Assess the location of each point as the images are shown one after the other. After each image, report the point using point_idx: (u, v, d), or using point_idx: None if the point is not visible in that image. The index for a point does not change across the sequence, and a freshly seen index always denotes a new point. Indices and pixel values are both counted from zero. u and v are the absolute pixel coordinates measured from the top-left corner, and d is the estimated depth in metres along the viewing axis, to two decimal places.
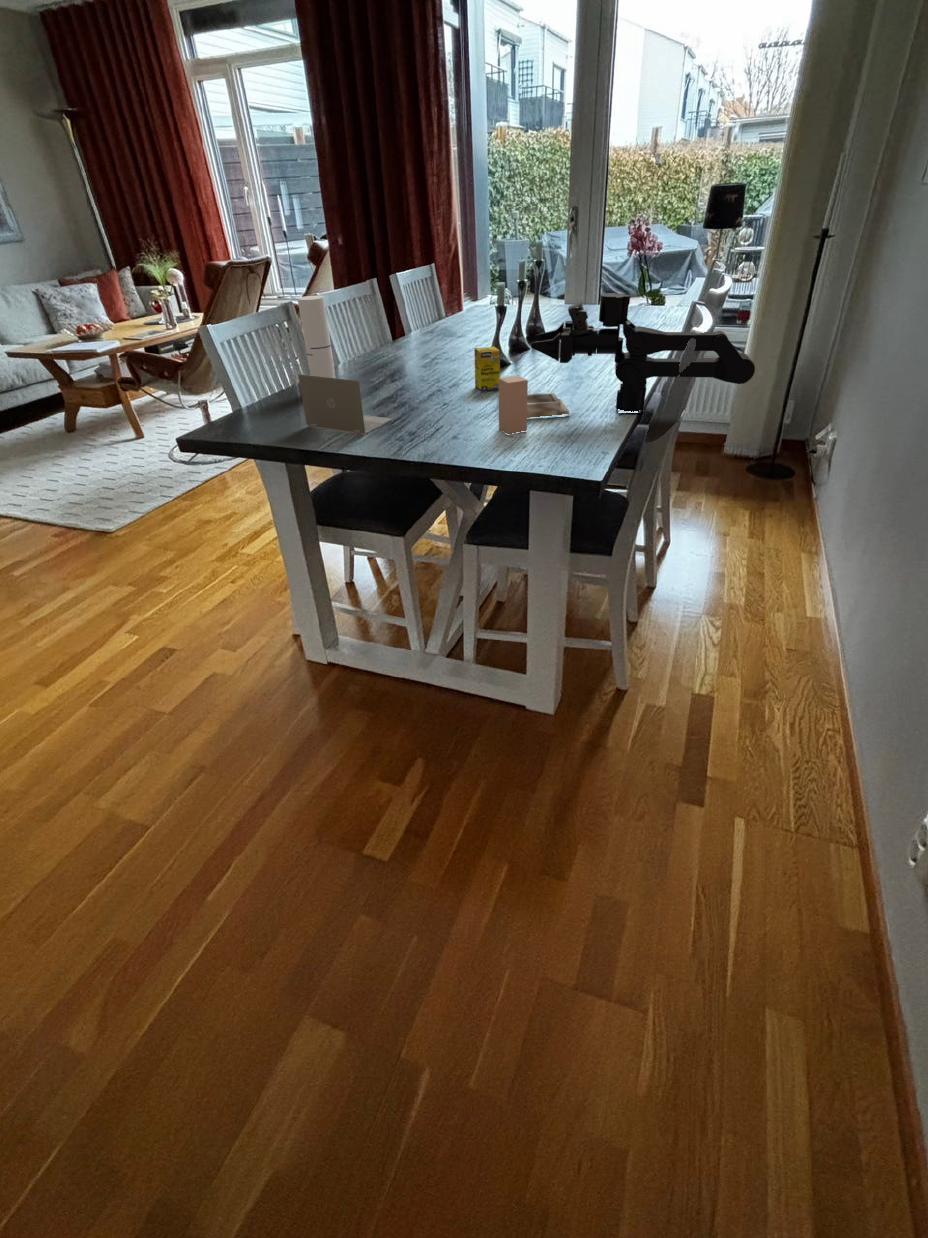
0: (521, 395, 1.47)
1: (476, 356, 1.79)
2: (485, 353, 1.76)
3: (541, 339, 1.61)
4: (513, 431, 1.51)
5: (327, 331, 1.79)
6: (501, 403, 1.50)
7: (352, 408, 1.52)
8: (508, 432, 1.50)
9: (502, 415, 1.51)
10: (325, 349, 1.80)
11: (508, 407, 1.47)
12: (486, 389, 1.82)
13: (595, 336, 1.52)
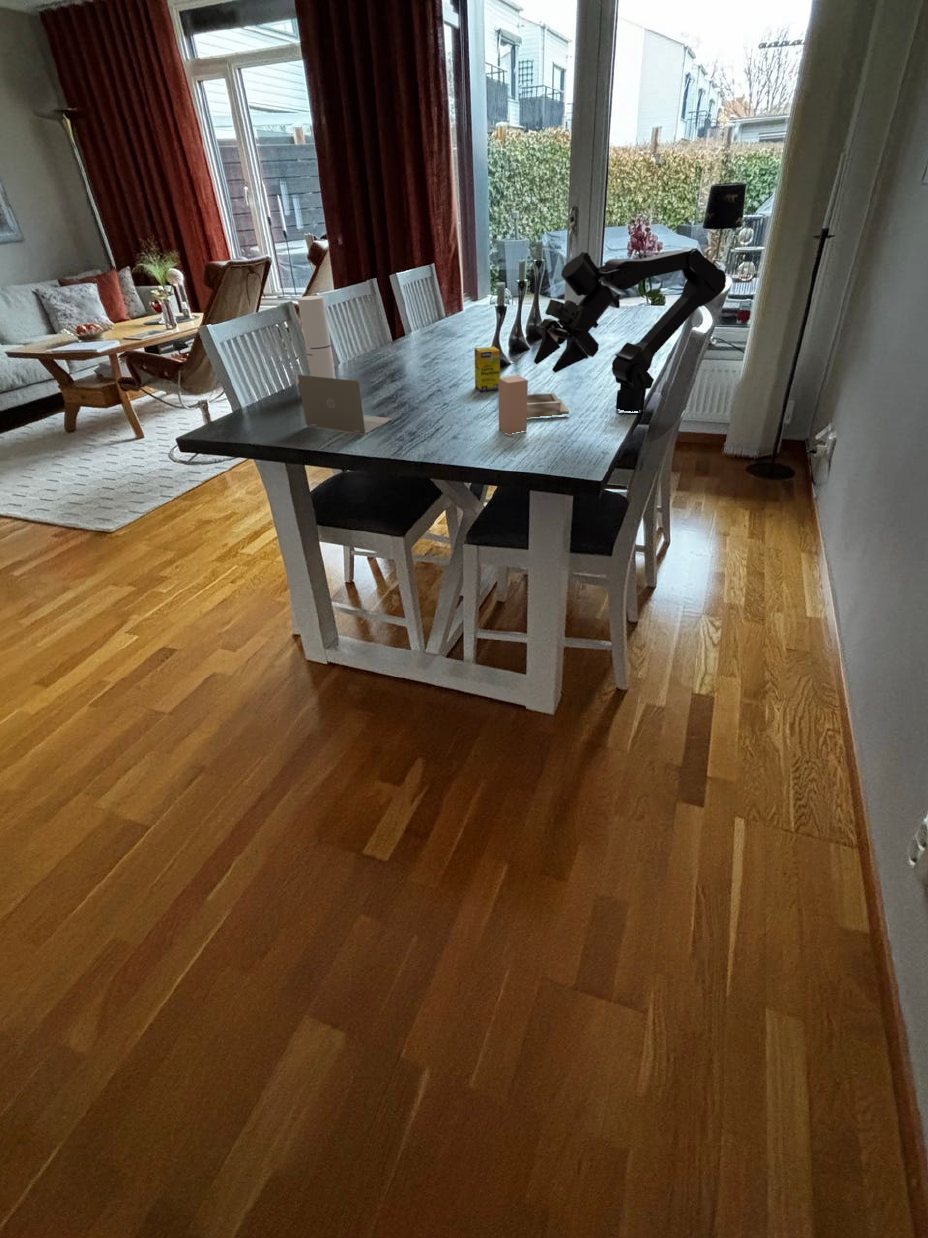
0: (521, 395, 1.47)
1: (476, 356, 1.79)
2: (485, 353, 1.76)
3: (541, 358, 1.51)
4: (513, 431, 1.51)
5: (327, 331, 1.79)
6: (501, 403, 1.50)
7: (352, 408, 1.52)
8: (508, 432, 1.50)
9: (502, 415, 1.51)
10: (325, 349, 1.80)
11: (508, 407, 1.47)
12: (486, 389, 1.82)
13: (589, 308, 1.42)
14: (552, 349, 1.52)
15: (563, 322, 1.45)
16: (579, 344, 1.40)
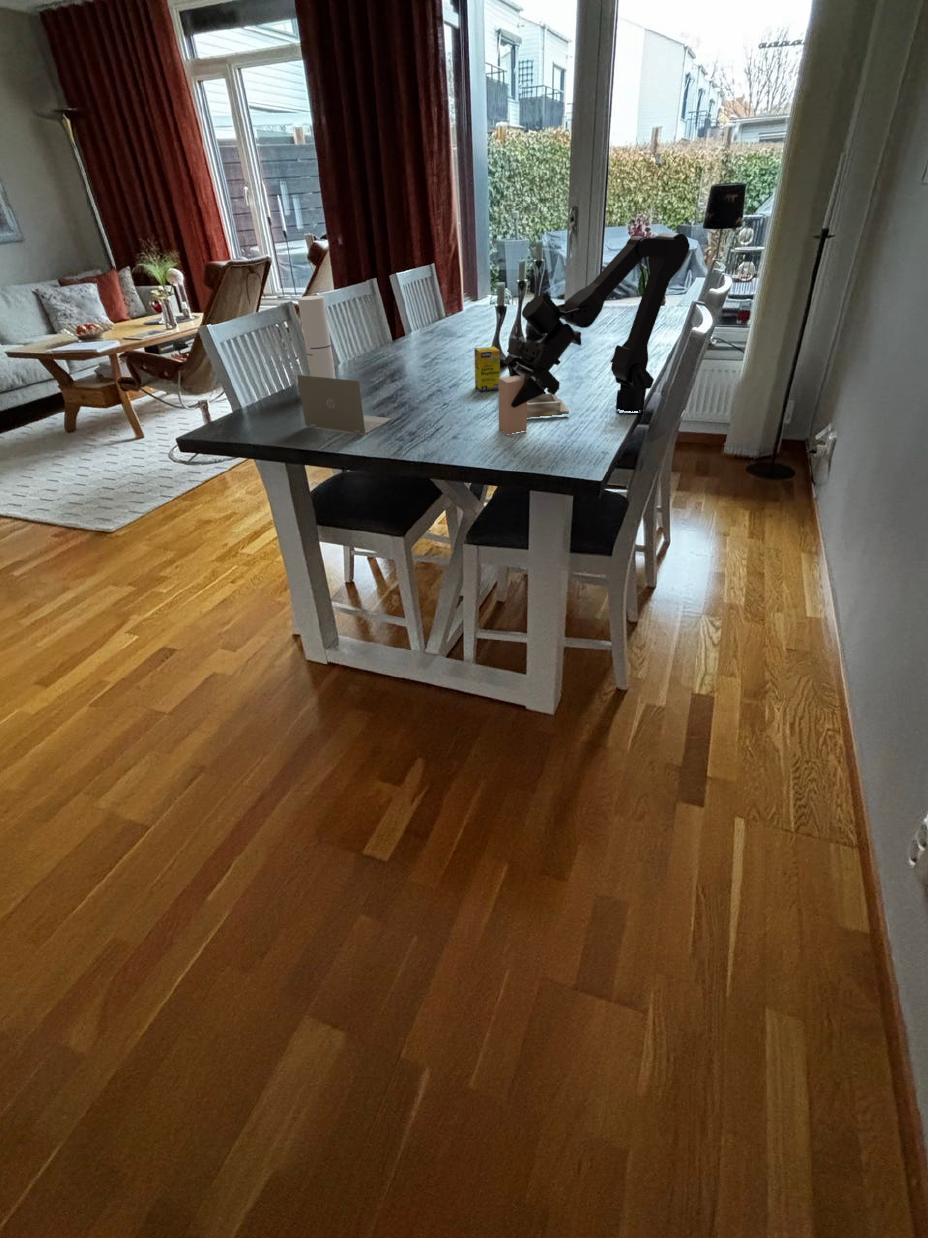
0: None
1: (476, 356, 1.79)
2: (485, 353, 1.76)
3: None
4: (513, 431, 1.51)
5: (327, 331, 1.79)
6: (501, 403, 1.50)
7: (352, 408, 1.52)
8: (508, 432, 1.50)
9: (502, 415, 1.51)
10: (325, 349, 1.80)
11: (508, 407, 1.47)
12: (486, 389, 1.82)
13: (550, 347, 1.43)
14: None
15: (525, 359, 1.46)
16: (536, 381, 1.42)
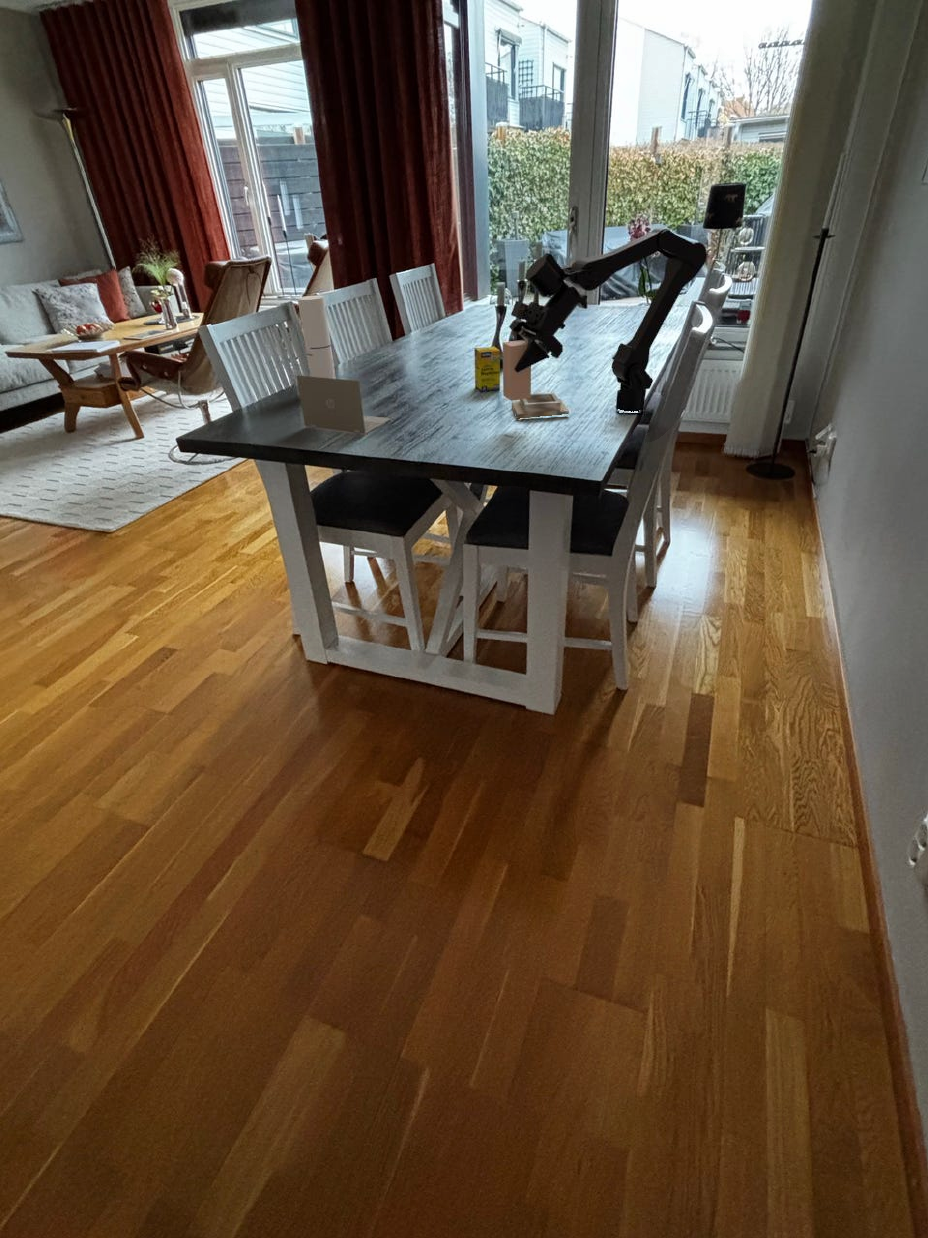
0: None
1: (476, 356, 1.79)
2: (485, 353, 1.76)
3: None
4: (517, 396, 1.50)
5: (327, 331, 1.79)
6: (505, 368, 1.49)
7: (352, 408, 1.52)
8: (511, 397, 1.49)
9: (506, 380, 1.50)
10: (325, 349, 1.80)
11: (511, 372, 1.46)
12: (486, 389, 1.82)
13: (555, 309, 1.42)
14: None
15: (530, 323, 1.45)
16: (539, 344, 1.41)
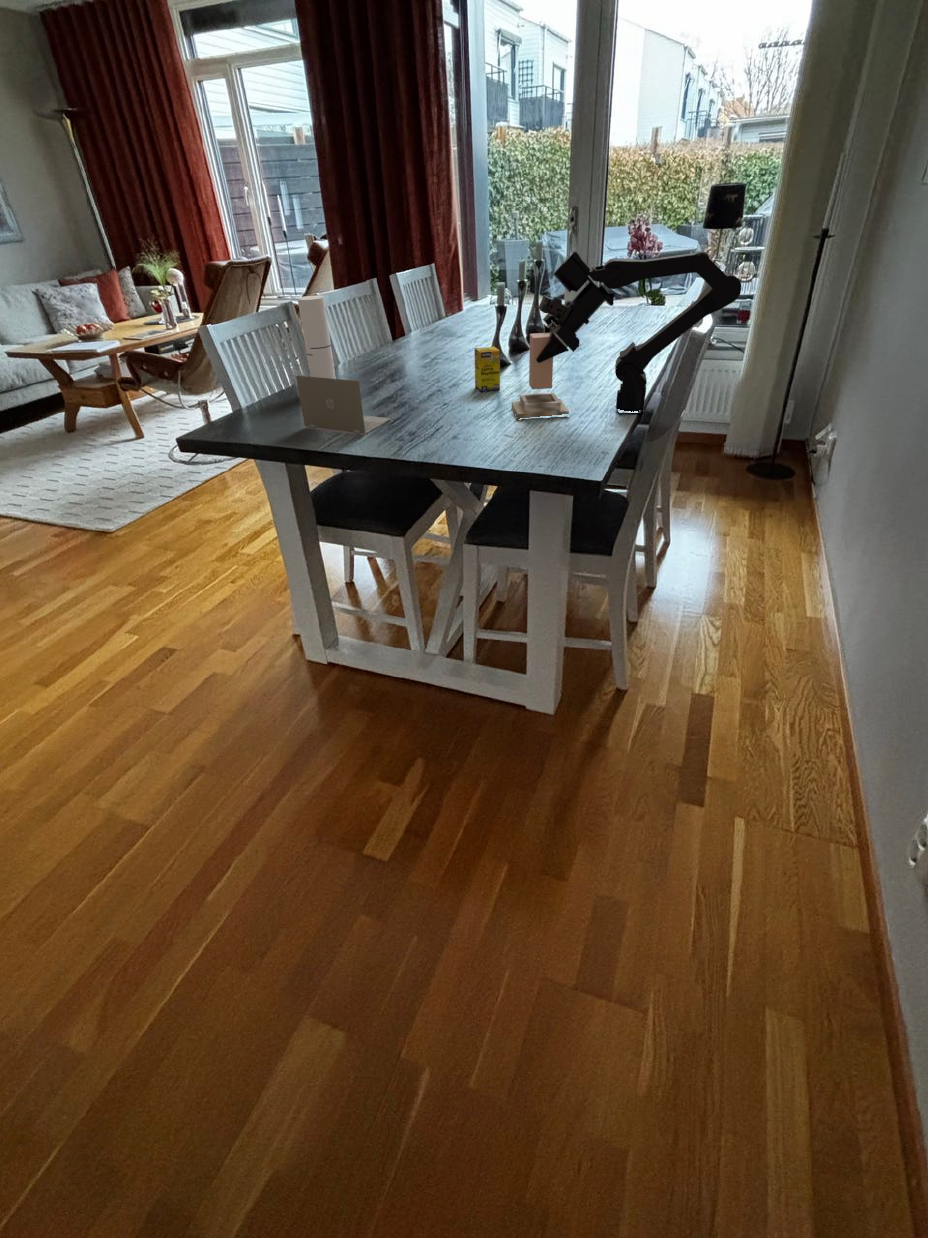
0: None
1: (476, 356, 1.79)
2: (485, 353, 1.76)
3: None
4: (538, 386, 1.58)
5: (327, 331, 1.79)
6: (530, 358, 1.58)
7: (352, 408, 1.52)
8: (533, 386, 1.58)
9: (530, 370, 1.59)
10: (325, 349, 1.80)
11: (533, 362, 1.55)
12: (486, 389, 1.82)
13: (579, 305, 1.49)
14: None
15: (556, 317, 1.53)
16: (558, 337, 1.49)
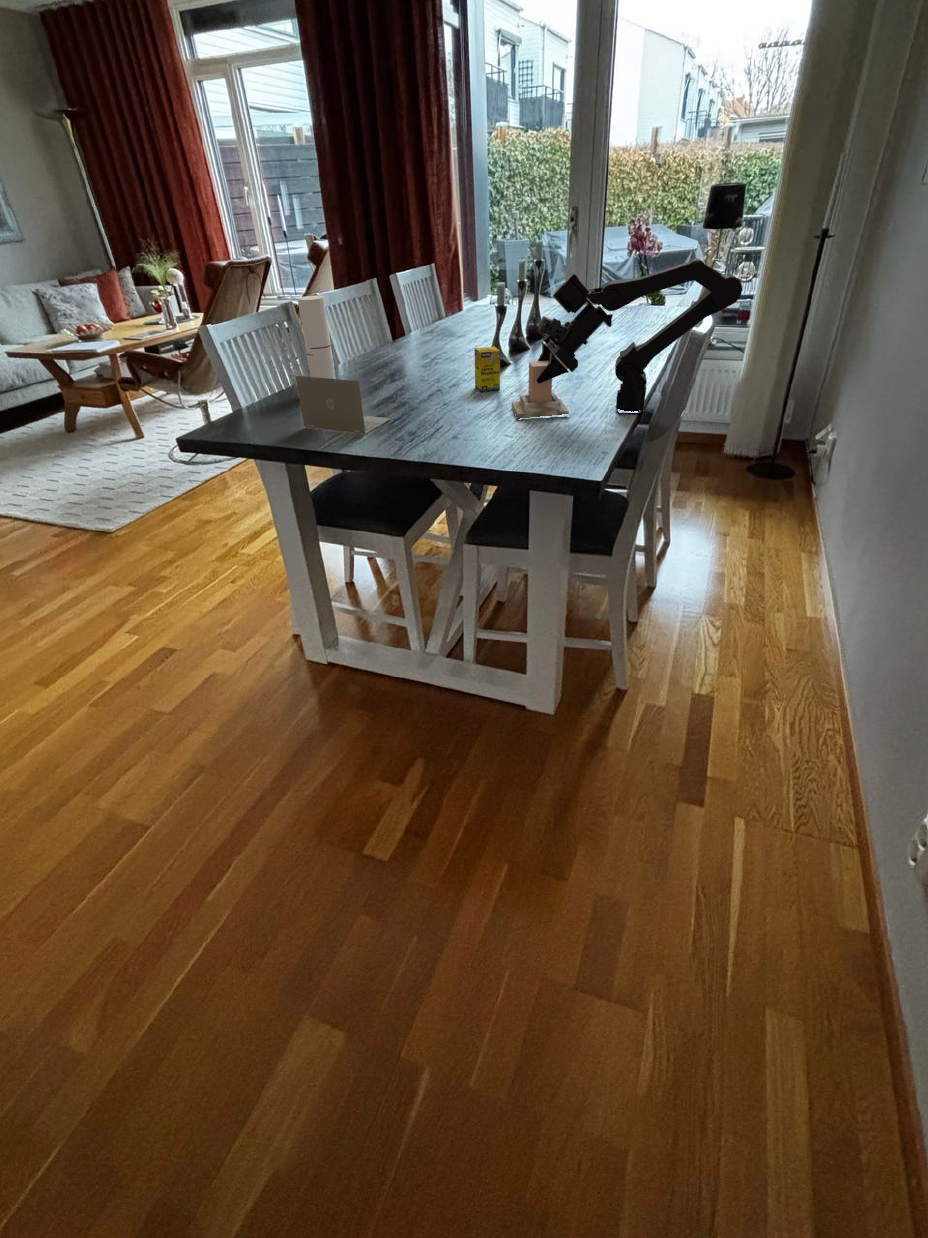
0: None
1: (476, 356, 1.79)
2: (485, 353, 1.76)
3: None
4: None
5: (327, 331, 1.79)
6: (529, 385, 1.62)
7: (352, 408, 1.52)
8: None
9: (529, 396, 1.63)
10: (325, 349, 1.80)
11: (532, 389, 1.59)
12: (486, 389, 1.82)
13: (578, 326, 1.51)
14: None
15: (555, 338, 1.55)
16: (558, 359, 1.50)
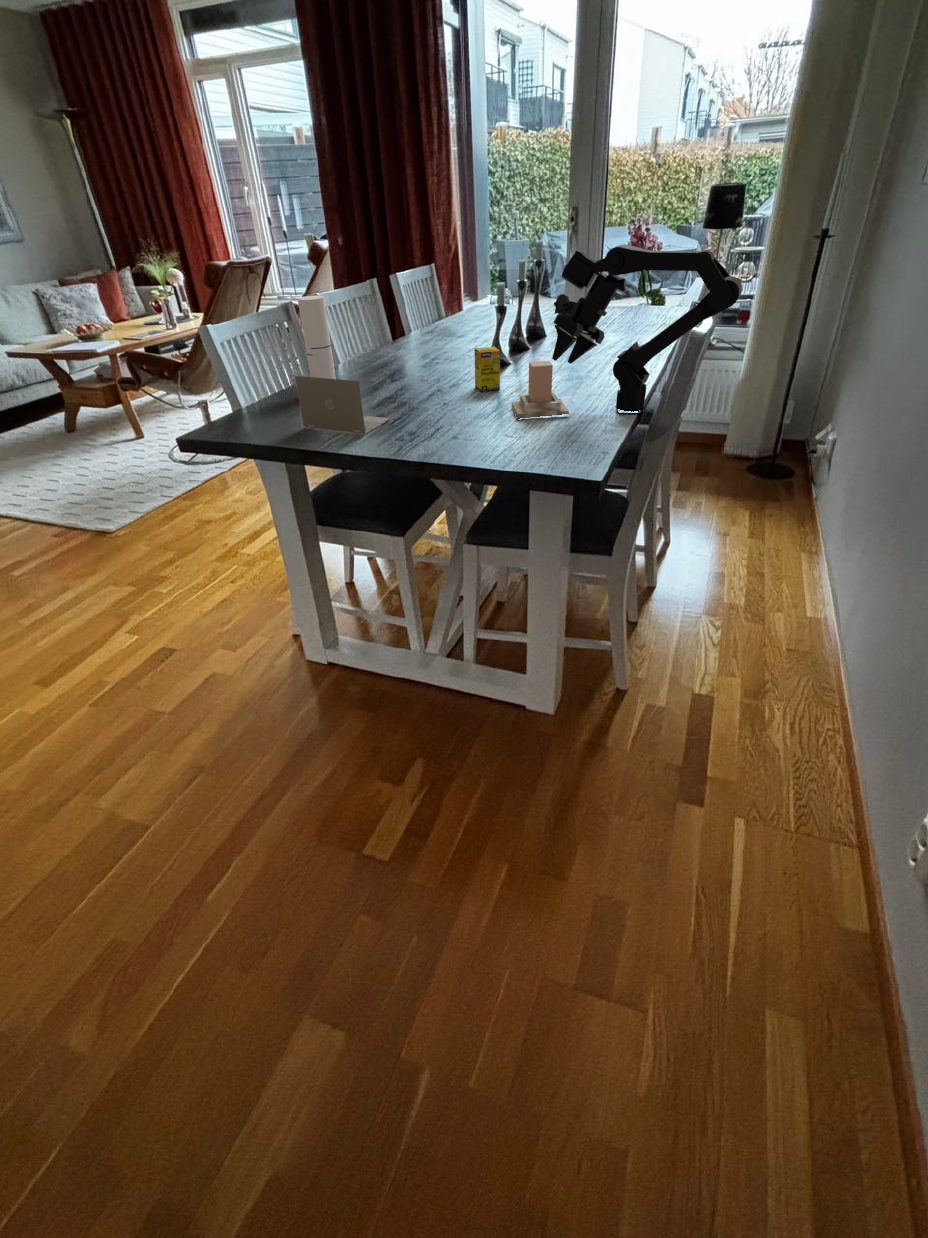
0: (545, 379, 1.58)
1: (476, 356, 1.79)
2: (485, 353, 1.76)
3: (573, 357, 1.63)
4: None
5: (327, 331, 1.79)
6: (529, 385, 1.62)
7: (352, 408, 1.52)
8: None
9: (529, 397, 1.63)
10: (325, 349, 1.80)
11: (532, 389, 1.59)
12: (486, 389, 1.82)
13: (587, 297, 1.51)
14: (585, 348, 1.61)
15: None
16: (560, 327, 1.50)
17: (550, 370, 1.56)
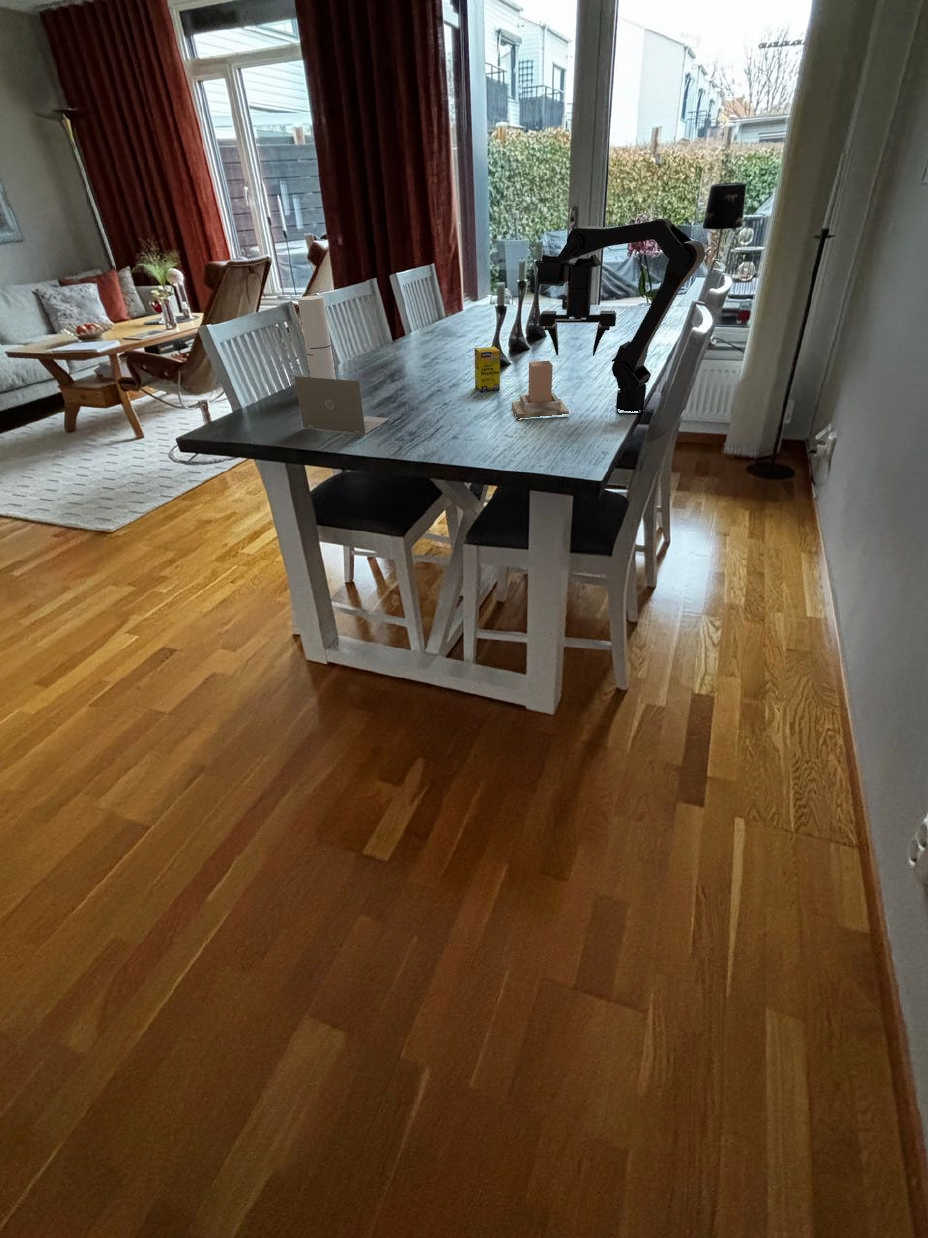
0: (545, 379, 1.58)
1: (476, 356, 1.79)
2: (485, 353, 1.76)
3: (593, 348, 1.61)
4: None
5: (327, 331, 1.79)
6: (529, 385, 1.62)
7: (352, 408, 1.52)
8: None
9: (529, 397, 1.63)
10: (325, 349, 1.80)
11: (532, 389, 1.59)
12: (486, 389, 1.82)
13: None
14: (596, 335, 1.58)
15: None
16: None
17: (550, 370, 1.56)
